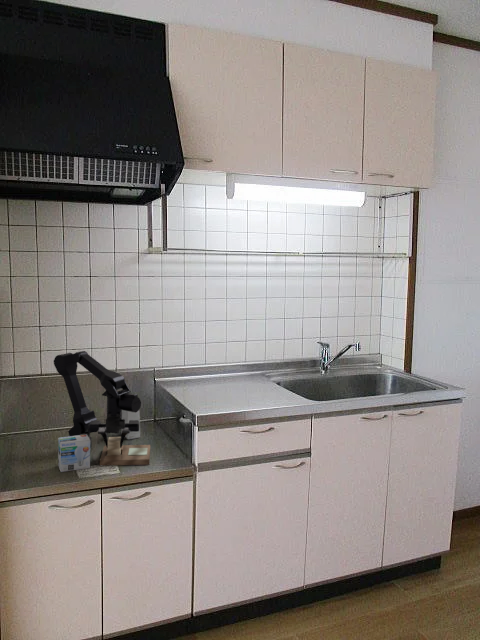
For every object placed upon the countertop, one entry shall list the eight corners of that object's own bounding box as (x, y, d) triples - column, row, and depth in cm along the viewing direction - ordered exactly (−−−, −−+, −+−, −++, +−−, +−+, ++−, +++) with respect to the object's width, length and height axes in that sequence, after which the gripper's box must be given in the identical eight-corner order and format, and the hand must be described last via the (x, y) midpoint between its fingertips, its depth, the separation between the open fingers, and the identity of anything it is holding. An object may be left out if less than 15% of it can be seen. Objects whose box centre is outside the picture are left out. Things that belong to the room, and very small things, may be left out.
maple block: (107, 458, 198) (107, 441, 197) (108, 454, 202) (108, 437, 201) (119, 458, 198) (119, 441, 198) (120, 454, 203) (120, 436, 202)
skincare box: (140, 437, 223) (140, 403, 221) (127, 440, 219) (127, 405, 218) (132, 431, 230) (133, 399, 228) (119, 434, 226) (120, 400, 225)
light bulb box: (60, 472, 185) (60, 443, 184) (57, 465, 191) (57, 437, 190) (91, 468, 190) (91, 439, 189) (87, 461, 196) (87, 433, 195)
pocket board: (99, 465, 192) (99, 459, 192) (104, 450, 207) (104, 444, 207) (149, 464, 195) (149, 458, 195) (150, 449, 210) (150, 444, 209)
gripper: (86, 414, 189) (86, 456, 191) (138, 414, 191) (138, 455, 193) (90, 405, 200) (90, 445, 202) (139, 405, 202) (139, 444, 204)
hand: (114, 447), depth 200 cm, fingers closed on maple block, 4 cm apart
